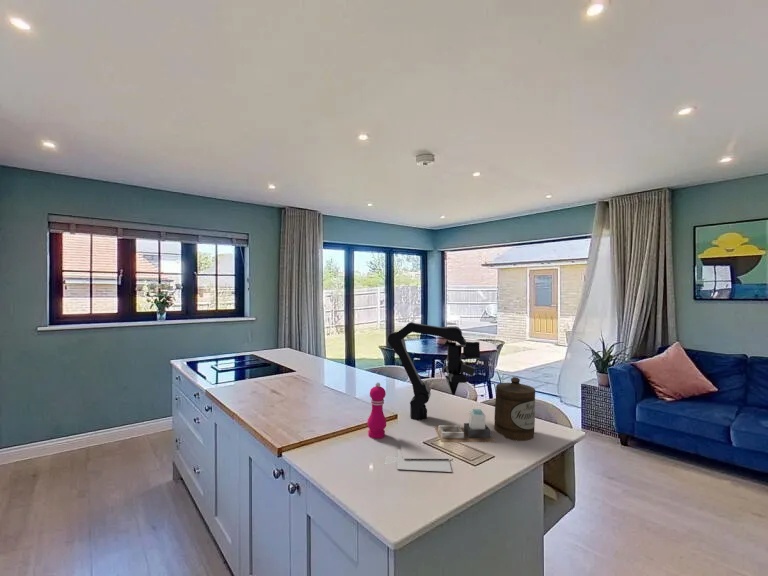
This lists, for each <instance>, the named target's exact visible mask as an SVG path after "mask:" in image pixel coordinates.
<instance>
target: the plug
mask: <svg viewBox="0 0 768 576" xmlns="http://www.w3.org/2000/svg"><path fill="white" fill-rule="evenodd" d="M468 414H469V415H468V423H469V428H470V429H485V424H486V414H485V413H484V412H483V410H482V409H478V408H475V409H474V408H473V409H472V411H469V413H468Z"/></svg>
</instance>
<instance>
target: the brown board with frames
mask: <svg viewBox="0 0 768 576" xmlns="http://www.w3.org/2000/svg"><path fill="white" fill-rule="evenodd" d="M434 430H435V432H436V434H437V436H438V438H439V440H440V442H441V443H497V441H496V440H495V439H494V438H493V437H492V431H491V429H490V428H489V427H488V425H487V424H486V423H485V429H470V428H469V422H465V423H463V427H460V425H438V427H434Z"/></svg>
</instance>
